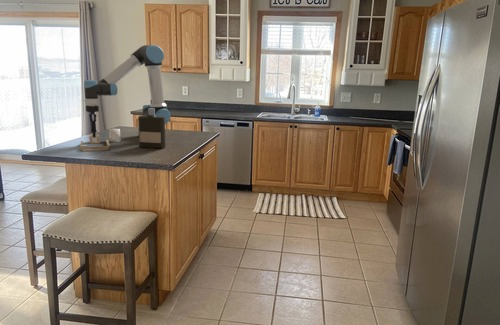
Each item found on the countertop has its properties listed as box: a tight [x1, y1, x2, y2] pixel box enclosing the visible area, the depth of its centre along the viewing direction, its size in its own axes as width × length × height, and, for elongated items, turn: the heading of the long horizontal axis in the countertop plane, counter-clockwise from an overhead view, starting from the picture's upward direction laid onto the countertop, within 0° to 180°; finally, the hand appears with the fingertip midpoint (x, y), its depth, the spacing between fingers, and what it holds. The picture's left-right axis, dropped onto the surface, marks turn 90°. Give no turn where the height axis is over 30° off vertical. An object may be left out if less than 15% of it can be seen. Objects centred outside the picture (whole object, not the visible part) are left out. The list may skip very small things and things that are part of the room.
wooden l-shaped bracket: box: [80, 139, 111, 152], centre depth 225 cm, size 20×16×2 cm
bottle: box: [137, 108, 166, 150], centre depth 228 cm, size 8×16×25 cm, turn 88°
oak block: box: [88, 134, 101, 145], centre depth 237 cm, size 6×6×5 cm
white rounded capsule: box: [108, 128, 122, 143], centre depth 244 cm, size 7×7×8 cm
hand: (94, 142), depth 231 cm, fingers closed
